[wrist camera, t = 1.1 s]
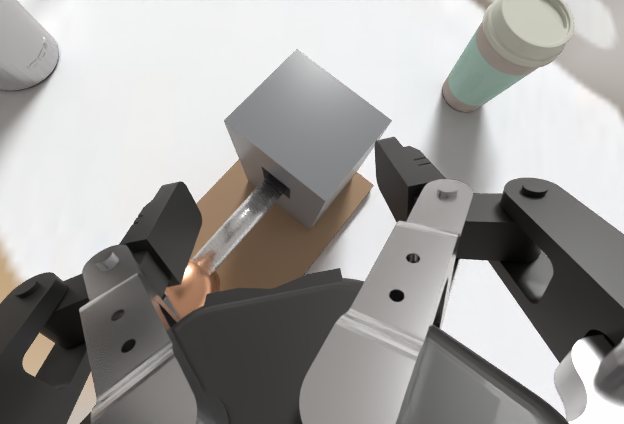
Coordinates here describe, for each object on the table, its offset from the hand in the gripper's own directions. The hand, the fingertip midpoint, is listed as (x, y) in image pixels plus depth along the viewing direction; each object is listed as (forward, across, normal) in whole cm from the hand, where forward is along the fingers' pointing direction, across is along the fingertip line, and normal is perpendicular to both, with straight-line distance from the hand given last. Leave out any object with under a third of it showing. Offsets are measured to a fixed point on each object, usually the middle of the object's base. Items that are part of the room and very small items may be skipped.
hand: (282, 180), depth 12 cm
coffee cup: (+28, -23, +9) cm, 38 cm away
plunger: (+8, +7, +10) cm, 15 cm away
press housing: (+15, +5, +14) cm, 21 cm away
